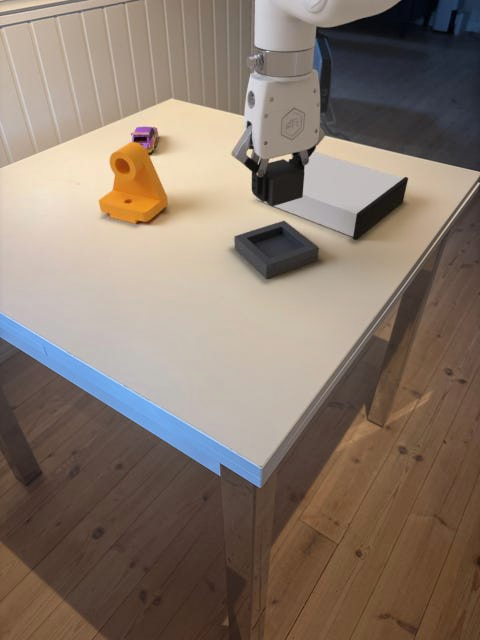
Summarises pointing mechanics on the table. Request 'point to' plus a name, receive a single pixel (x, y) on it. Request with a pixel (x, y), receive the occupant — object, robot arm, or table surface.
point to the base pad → (276, 249)
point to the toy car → (146, 137)
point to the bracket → (133, 186)
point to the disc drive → (345, 195)
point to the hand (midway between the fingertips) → (277, 191)
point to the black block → (284, 182)
